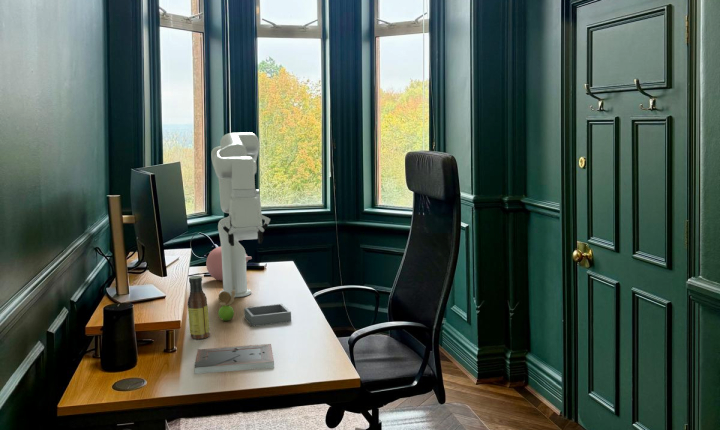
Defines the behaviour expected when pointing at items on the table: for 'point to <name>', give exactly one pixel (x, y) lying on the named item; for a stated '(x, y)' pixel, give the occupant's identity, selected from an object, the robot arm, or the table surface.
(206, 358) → the picture frame
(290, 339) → the table surface
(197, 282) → the sauce bottle
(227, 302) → the snail figurine
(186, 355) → the table surface
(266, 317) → the bin
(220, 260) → the balloon
